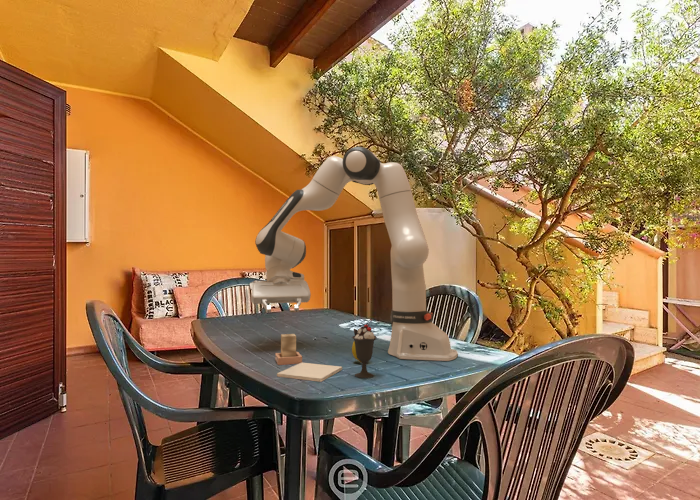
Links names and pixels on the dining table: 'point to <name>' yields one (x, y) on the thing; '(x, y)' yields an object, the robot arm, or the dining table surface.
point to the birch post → (288, 345)
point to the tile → (310, 372)
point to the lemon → (355, 352)
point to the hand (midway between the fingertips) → (282, 310)
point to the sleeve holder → (288, 359)
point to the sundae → (364, 348)
